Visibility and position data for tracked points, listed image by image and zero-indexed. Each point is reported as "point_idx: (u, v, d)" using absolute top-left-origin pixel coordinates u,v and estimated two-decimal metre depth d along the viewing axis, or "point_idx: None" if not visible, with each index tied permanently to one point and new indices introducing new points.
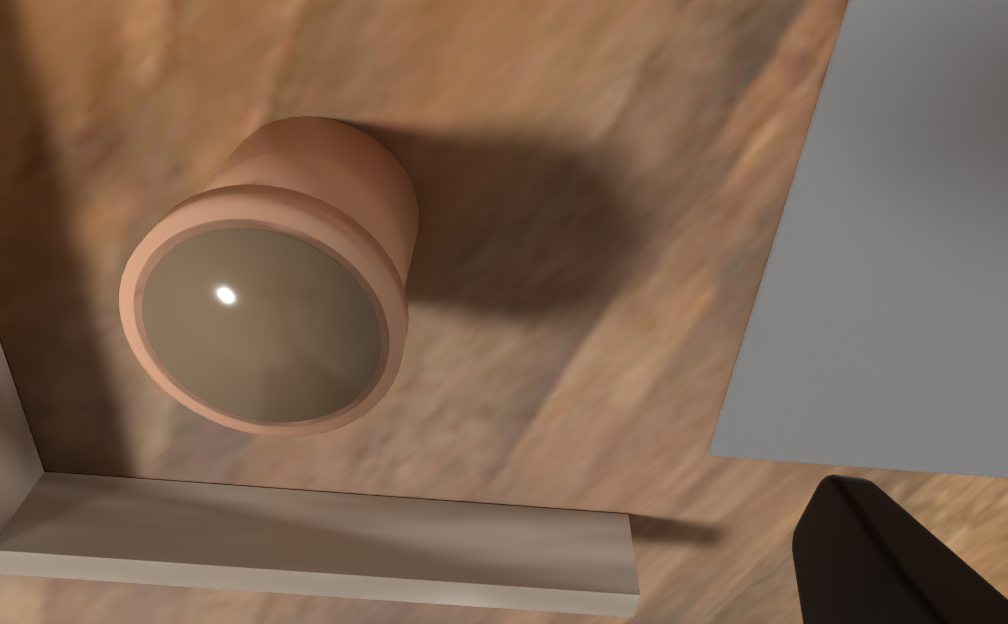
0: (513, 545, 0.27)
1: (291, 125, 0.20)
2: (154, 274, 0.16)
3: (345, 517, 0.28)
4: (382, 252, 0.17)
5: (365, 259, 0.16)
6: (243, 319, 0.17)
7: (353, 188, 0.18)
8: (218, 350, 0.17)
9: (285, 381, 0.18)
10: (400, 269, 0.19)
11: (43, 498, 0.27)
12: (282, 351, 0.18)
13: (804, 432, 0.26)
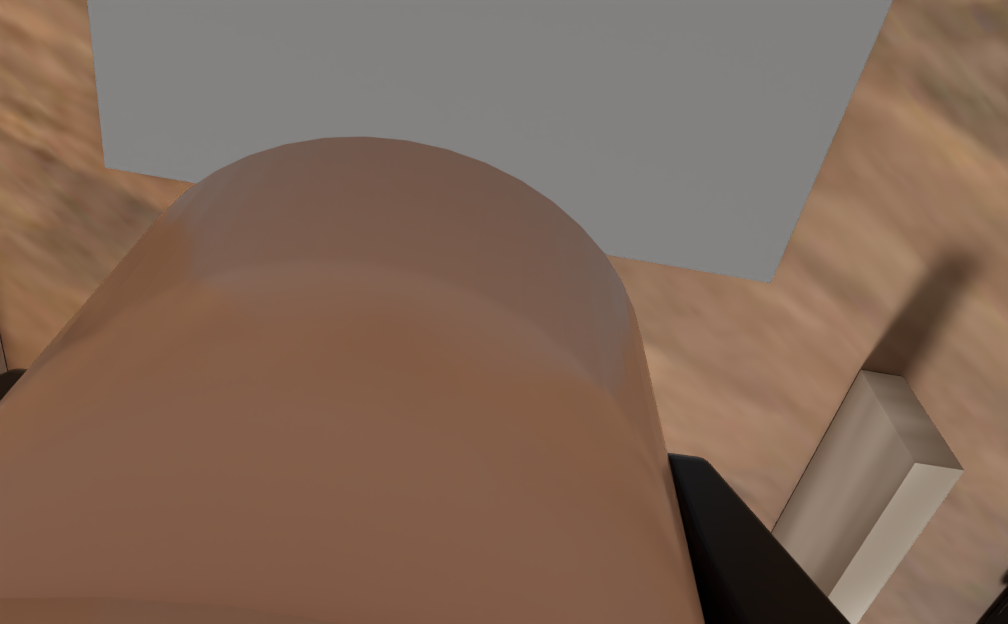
0: (818, 529, 0.22)
1: None
2: None
3: None
4: None
5: None
6: None
7: None
8: None
9: None
10: (197, 416, 0.04)
11: None
12: None
13: (759, 163, 0.17)
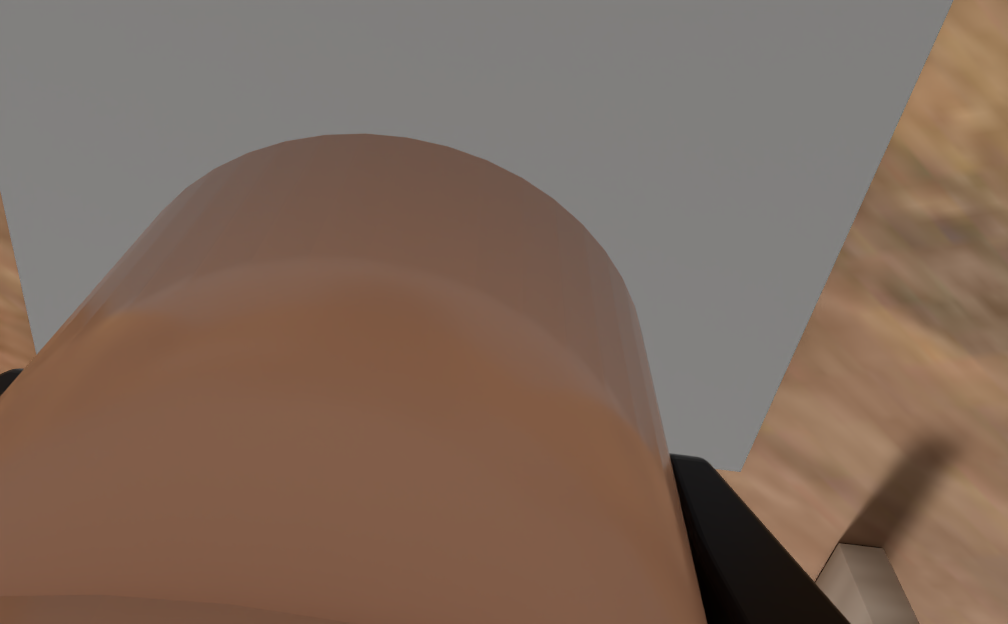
0: None
1: None
2: None
3: None
4: None
5: None
6: None
7: None
8: None
9: None
10: (196, 413, 0.04)
11: None
12: None
13: (721, 367, 0.17)
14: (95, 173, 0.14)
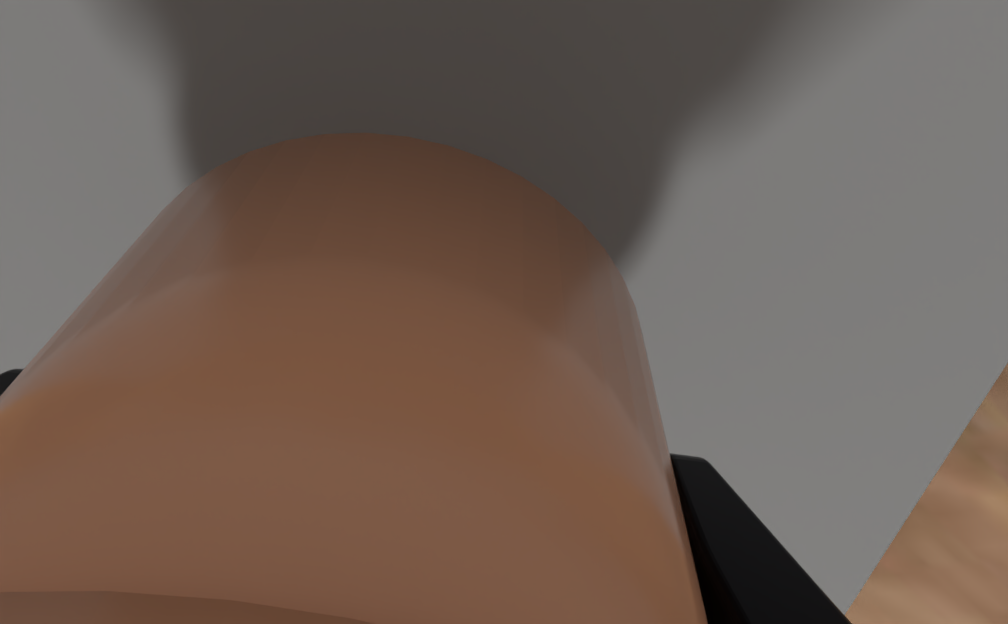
0: None
1: None
2: None
3: None
4: None
5: None
6: None
7: None
8: None
9: None
10: (197, 411, 0.04)
11: None
12: None
13: None
14: None
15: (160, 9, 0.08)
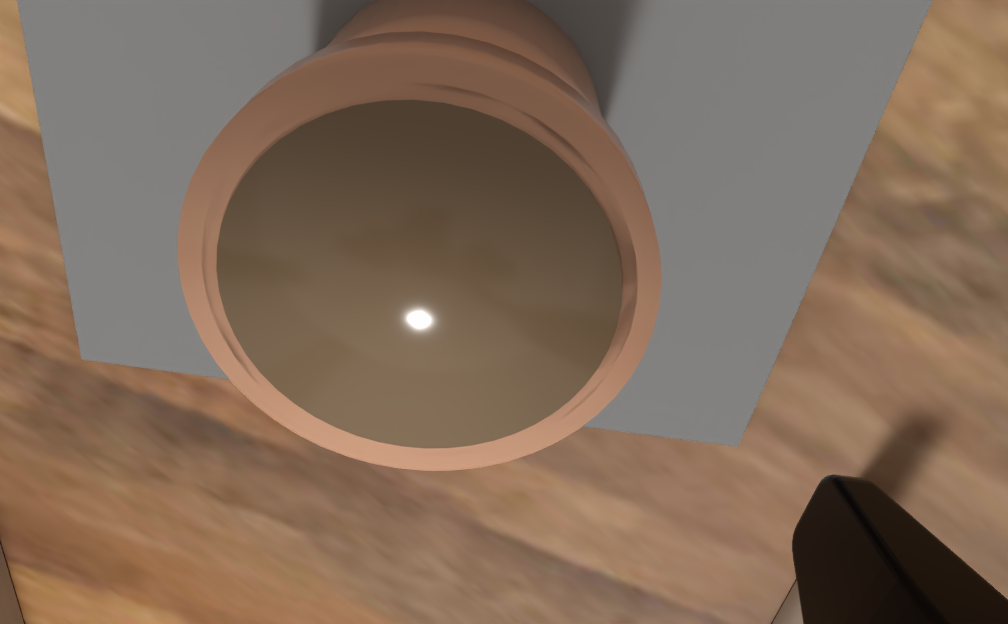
0: None
1: None
2: (315, 409, 0.11)
3: None
4: (300, 62, 0.09)
5: (257, 98, 0.09)
6: (390, 319, 0.10)
7: None
8: (453, 367, 0.11)
9: (528, 286, 0.10)
10: None
11: None
12: (461, 277, 0.10)
13: (720, 345, 0.18)
14: (137, 159, 0.16)
15: None
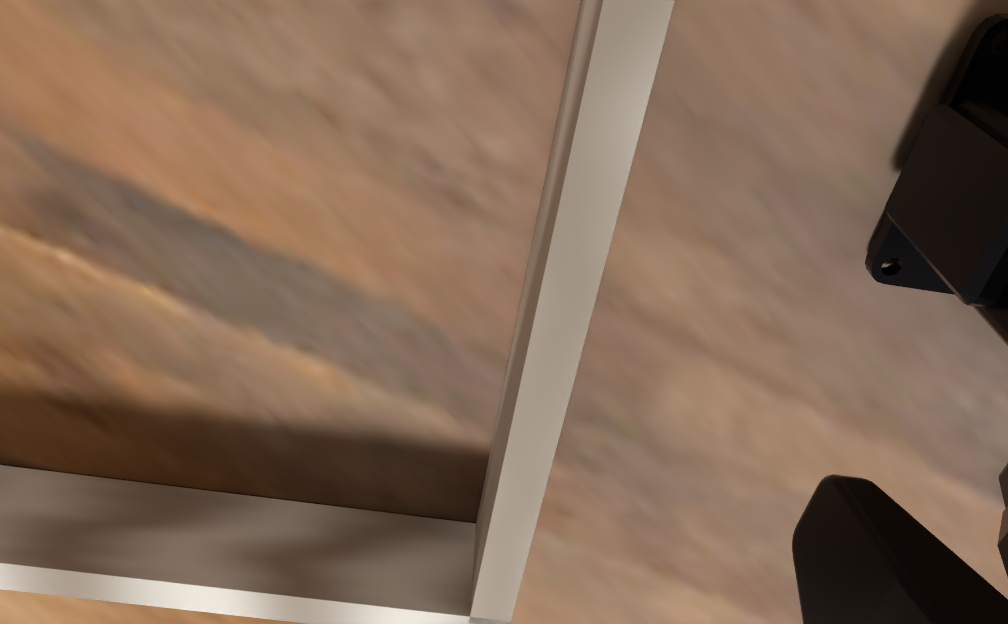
0: None
1: None
2: None
3: (536, 248, 0.19)
4: None
5: None
6: None
7: None
8: None
9: None
10: None
11: (476, 541, 0.24)
12: None
13: None
14: None
15: None
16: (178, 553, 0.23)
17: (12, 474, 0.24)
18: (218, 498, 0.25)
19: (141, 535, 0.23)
